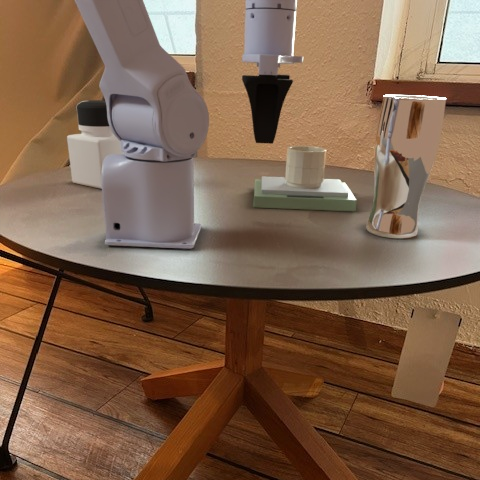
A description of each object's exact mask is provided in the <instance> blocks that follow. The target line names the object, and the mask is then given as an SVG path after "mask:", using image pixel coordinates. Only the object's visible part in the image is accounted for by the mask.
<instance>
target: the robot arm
mask: <svg viewBox="0 0 480 480" xmlns="http://www.w3.org/2000/svg"><path fill="white" fill-rule="evenodd" d="M73 1H74V2H75V5H76V6H77V9H78V11H79V13H80V15H81V18H82V20H83V22H84V24H85V26H86V28H87V31H88V33H89V35H90V37H91V39H92V41H93V43H94V46H95V48H96V50H97V52H98V54H99V56H100V58H101V61H102V62H103V64H104V71H103V73H102V75H101V79H100V81H99V85H98V86H99V89H100V92H101V93H102V95H103V98H104V101H106V106H107V118H108V123H109V126H110V129H111V131H112V132H113V134H114V135H115V137H116V138H117V139H118V140H120V141H121V151H122V152H124V154H110V155H107V156H106V157H105V159H104V161H103V165H102V175H101V185H102V189H101V195H102V207H103V216H104V227H105V237H106V238H105V240H104V245H107V246H118V247H119V246H121V247H143V248H167V249H194V247H195V245H196V242H197V240H198V238H199V234H200V232H201V230H202V224H201V223H199V222H196V223H195V180H194V179H195V176H194V175H195V173H194V172H195V171H194V169H195V168H194V167H195V165H194V163H195V162H194V161H195V160H194V159H195V158H198V151H199V150H200V149H201V148H202V146H203V145H204V143H205V142H206V139H207V137H208V134H209V133H208V132H209V129H210V128H209V127H210V113H209V109H208V106H207V103H206V101H205V99H204V98H203V97H202V95H201V94H200V93H199V92H198V91H197V90H196V89H195V88H194V86H193V85H192V83H191V81H190V79H189V76H188V74H187V71H186V69H185V67H184V66H183V65H182V64H181V63H180V62H178V60H177V59H175V58H174V57H173V56H172V55H171V54H170V53H169V52H167V51H166V49H164V48H163V47H162V45H161V44H160V41H159V38H158V36H157V34H156V31H155V29H154V26H153V23H152V20H151V18H150V15H149V12H148V10H147V7H146V5H145V2H144V0H73ZM297 3H298V0H245V6H244V7H245V9H244V10H245V11H244V42H243V43H244V44H243V54H242V55H241V62H242V63H250V64H251V63H252V64H256V67H257V68H258V75H252V74H251V75H250V74H249V75H248V74H243V75H241V81H242V83H243V85H244V88H245V90H246V93H247V97H248V101H249V106H250V111H251V121H252V129H253V137H254V142H255V143H256V144H271V145H272V144H274V142H275V139H276V135H277V131H278V127H279V121H280V118H281V117H280V116H281V113H282V108H283V106H284V102H285V100H286V97H287V95H288V93H289V91H290V89H291V87H292V85H293V83H294V80H293V79H292V78H290V77H291V75H290V74H278V73H279V68H281V65H283V64H284V65H294V64H296V63H297V64H303V63H304V56H300V55H294V47H295V35H296V34H295V32H296V17H297V5H298V4H297Z"/></svg>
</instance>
